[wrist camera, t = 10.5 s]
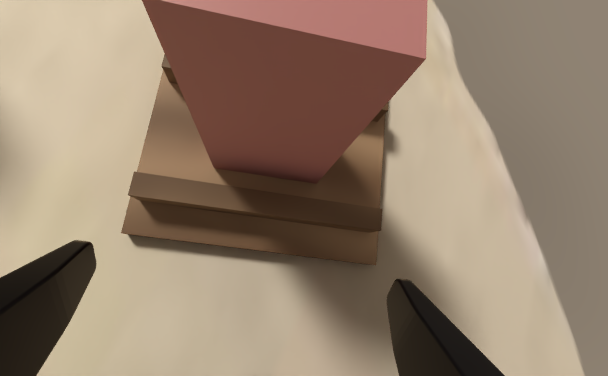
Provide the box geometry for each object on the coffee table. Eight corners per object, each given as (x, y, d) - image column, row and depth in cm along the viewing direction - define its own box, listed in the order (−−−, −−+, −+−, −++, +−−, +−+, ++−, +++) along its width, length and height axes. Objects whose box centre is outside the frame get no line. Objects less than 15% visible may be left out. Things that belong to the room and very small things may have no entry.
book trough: (371, 264, 19) (387, 265, 16) (127, 234, 17) (107, 230, 14) (382, 88, 21) (398, 68, 19) (174, 46, 20) (164, 17, 17)
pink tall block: (316, 183, 18) (426, 58, 7) (213, 168, 18) (139, -5, 6) (322, 129, 19) (428, -64, 8) (224, 112, 18) (178, -134, 7)
